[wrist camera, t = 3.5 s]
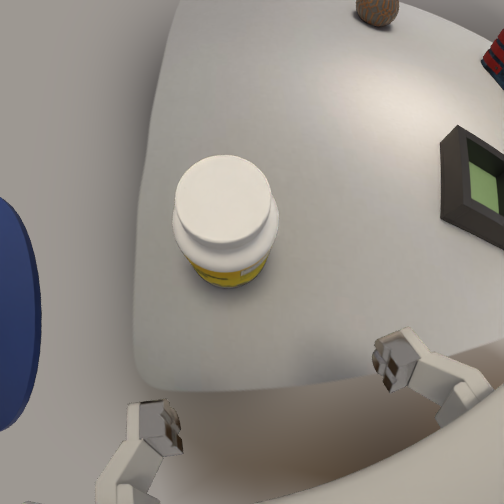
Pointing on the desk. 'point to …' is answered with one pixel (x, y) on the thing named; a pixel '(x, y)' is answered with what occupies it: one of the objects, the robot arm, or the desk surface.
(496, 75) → the book
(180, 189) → the pill bottle
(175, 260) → the desk surface
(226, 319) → the desk surface
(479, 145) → the holder
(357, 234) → the desk surface
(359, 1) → the vase
